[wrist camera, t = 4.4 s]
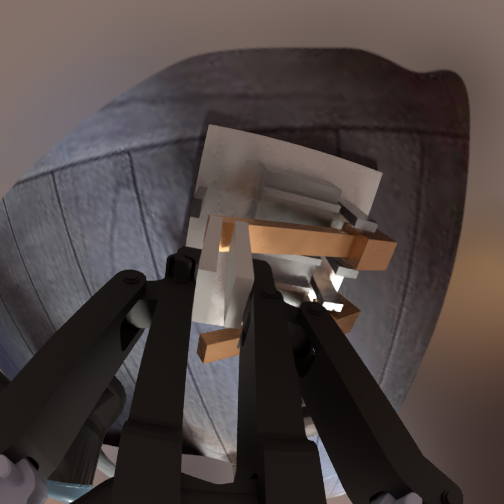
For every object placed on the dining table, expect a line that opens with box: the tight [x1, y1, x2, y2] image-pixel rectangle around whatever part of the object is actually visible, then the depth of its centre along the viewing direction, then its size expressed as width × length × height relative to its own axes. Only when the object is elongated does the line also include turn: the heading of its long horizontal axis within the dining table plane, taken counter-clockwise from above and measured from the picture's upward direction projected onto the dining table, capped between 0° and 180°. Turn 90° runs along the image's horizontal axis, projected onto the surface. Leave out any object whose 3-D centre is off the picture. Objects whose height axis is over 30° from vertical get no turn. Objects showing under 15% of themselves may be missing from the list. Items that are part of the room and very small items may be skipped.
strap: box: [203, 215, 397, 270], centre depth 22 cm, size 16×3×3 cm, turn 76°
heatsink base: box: [186, 124, 382, 328], centre depth 26 cm, size 17×21×7 cm
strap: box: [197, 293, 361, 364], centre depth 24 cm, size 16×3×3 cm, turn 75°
